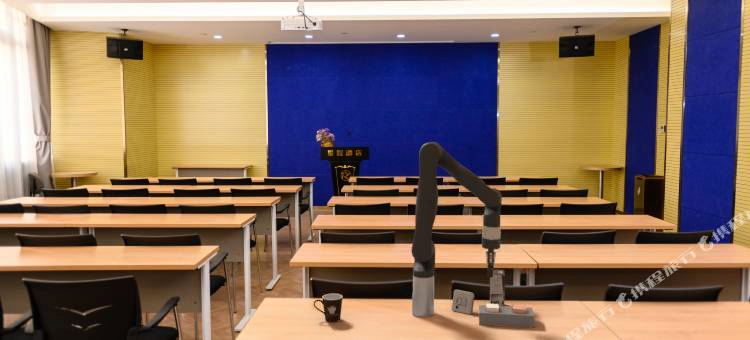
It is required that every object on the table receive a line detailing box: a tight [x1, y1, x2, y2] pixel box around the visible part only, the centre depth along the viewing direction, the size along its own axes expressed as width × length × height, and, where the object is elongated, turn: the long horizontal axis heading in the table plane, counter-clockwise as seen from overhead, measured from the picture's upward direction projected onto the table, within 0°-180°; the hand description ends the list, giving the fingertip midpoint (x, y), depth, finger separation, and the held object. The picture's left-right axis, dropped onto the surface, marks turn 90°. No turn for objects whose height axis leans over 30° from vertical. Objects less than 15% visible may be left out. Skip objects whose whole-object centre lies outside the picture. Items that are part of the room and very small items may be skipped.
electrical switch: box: [451, 289, 475, 315], centre depth 250 cm, size 9×5×9 cm, turn 54°
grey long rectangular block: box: [478, 304, 535, 329], centre depth 236 cm, size 22×10×5 cm, turn 80°
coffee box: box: [489, 269, 506, 306], centre depth 254 cm, size 9×6×16 cm
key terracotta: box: [512, 304, 526, 314], centre depth 235 cm, size 5×5×5 cm
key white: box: [485, 303, 499, 312], centre depth 237 cm, size 5×5×5 cm
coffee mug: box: [313, 293, 343, 323], centre depth 241 cm, size 12×9×10 cm
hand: (490, 277), depth 237 cm, fingers closed
